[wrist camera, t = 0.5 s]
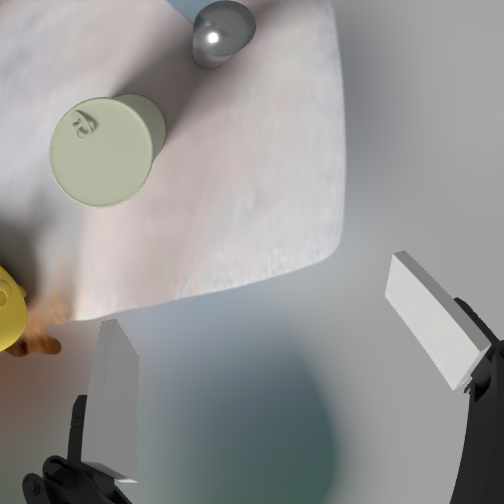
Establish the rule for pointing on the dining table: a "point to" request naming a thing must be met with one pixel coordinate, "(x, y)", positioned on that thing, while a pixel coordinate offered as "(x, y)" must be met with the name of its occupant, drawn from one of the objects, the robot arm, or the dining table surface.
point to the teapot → (11, 310)
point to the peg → (221, 32)
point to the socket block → (190, 7)
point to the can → (106, 149)
